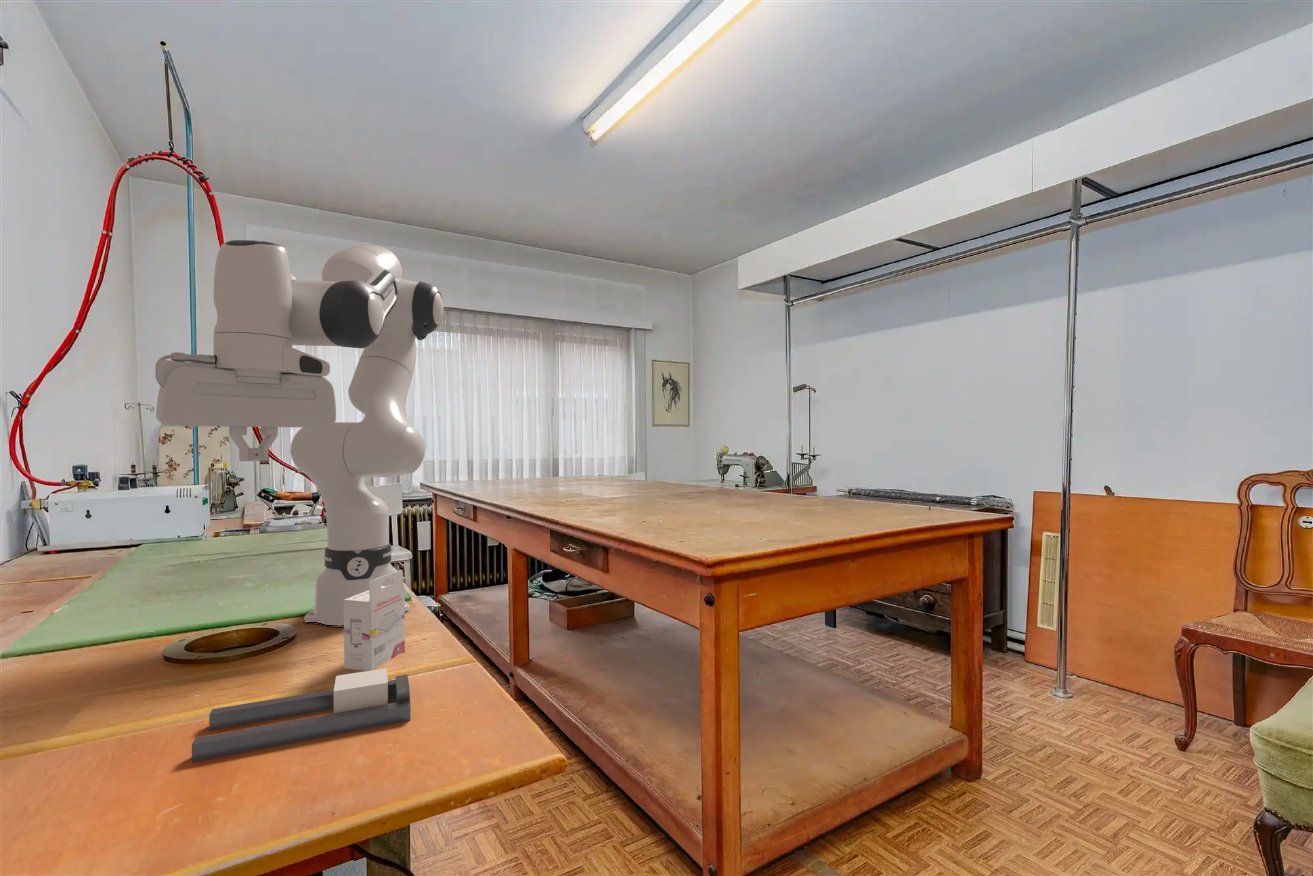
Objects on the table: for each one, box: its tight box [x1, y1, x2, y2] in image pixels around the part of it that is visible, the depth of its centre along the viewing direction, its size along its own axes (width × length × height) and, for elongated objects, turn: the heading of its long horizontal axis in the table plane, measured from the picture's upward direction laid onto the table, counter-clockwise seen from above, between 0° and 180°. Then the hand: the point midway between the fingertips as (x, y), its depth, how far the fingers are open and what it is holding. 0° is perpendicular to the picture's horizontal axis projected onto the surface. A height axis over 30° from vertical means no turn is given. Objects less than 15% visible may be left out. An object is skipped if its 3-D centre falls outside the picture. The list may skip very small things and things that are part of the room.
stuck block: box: [333, 667, 389, 714], centre depth 75 cm, size 5×6×4 cm
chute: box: [191, 674, 412, 763], centre depth 72 cm, size 9×22×4 cm, turn 116°
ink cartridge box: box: [343, 569, 406, 672], centre depth 92 cm, size 9×5×15 cm, turn 168°
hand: (253, 461), depth 79 cm, fingers closed
